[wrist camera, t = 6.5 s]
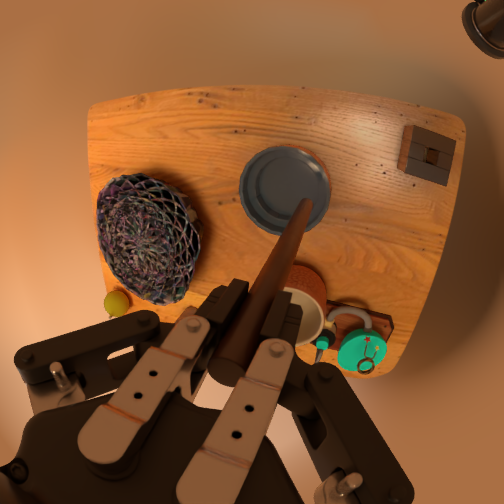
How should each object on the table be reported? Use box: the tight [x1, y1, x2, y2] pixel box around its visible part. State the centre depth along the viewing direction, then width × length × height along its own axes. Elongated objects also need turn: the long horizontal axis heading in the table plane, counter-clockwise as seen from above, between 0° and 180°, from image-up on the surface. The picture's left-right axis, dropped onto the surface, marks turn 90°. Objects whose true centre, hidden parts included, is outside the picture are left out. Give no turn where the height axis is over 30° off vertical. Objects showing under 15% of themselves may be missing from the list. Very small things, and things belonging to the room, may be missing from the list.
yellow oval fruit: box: [104, 291, 129, 319], centre depth 68 cm, size 7×7×10 cm
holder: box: [397, 125, 456, 186], centre depth 36 cm, size 7×7×6 cm
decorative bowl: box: [97, 173, 204, 306], centre depth 56 cm, size 26×28×10 cm
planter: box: [283, 265, 327, 346], centre depth 51 cm, size 12×12×11 cm
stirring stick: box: [207, 198, 313, 387], centre depth 21 cm, size 2×2×26 cm
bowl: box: [239, 144, 331, 236], centre depth 45 cm, size 14×14×6 cm
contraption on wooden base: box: [310, 300, 394, 374], centre depth 49 cm, size 14×18×15 cm
